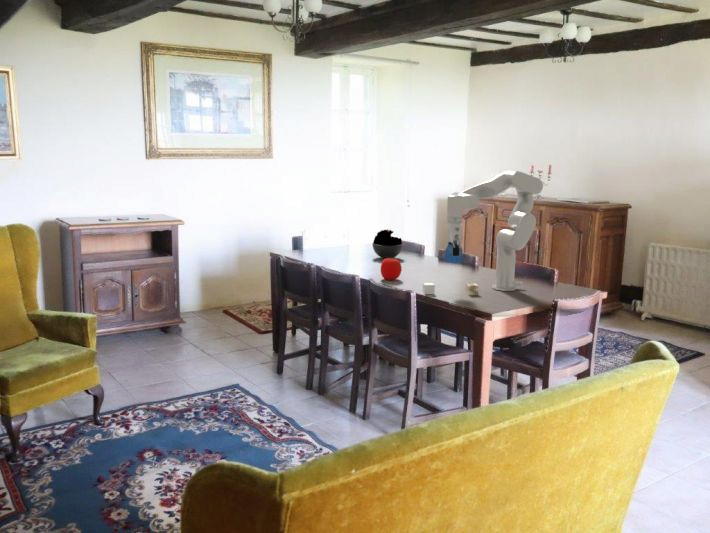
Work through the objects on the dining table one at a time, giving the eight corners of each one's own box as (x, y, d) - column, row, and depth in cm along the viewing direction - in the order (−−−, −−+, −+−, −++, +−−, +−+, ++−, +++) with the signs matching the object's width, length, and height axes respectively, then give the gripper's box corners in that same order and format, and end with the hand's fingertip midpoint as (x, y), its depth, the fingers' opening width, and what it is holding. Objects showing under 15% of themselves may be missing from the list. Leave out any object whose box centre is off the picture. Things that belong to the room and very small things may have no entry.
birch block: (475, 292, 327) (475, 283, 326) (478, 295, 322) (478, 285, 321) (465, 293, 327) (466, 283, 326) (468, 295, 322) (469, 285, 321)
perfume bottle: (451, 260, 327) (452, 236, 324) (462, 261, 323) (462, 238, 320) (445, 261, 322) (445, 238, 320) (455, 263, 318) (456, 239, 316)
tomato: (383, 276, 362) (384, 254, 360) (403, 278, 358) (404, 256, 356) (377, 281, 351) (377, 258, 348) (397, 282, 347) (398, 260, 344)
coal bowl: (389, 255, 433) (390, 227, 429) (408, 259, 417) (409, 231, 413) (366, 257, 421) (366, 229, 418) (384, 262, 405) (385, 233, 402)
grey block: (432, 292, 327) (432, 282, 326) (434, 294, 322) (434, 285, 321) (422, 292, 326) (423, 282, 325) (424, 294, 321) (425, 285, 320)
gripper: (466, 222, 310) (465, 256, 314) (457, 217, 327) (455, 250, 331) (451, 222, 309) (450, 257, 313) (442, 218, 326) (441, 251, 330)
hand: (453, 253), depth 322 cm, fingers closed on perfume bottle, 9 cm apart
